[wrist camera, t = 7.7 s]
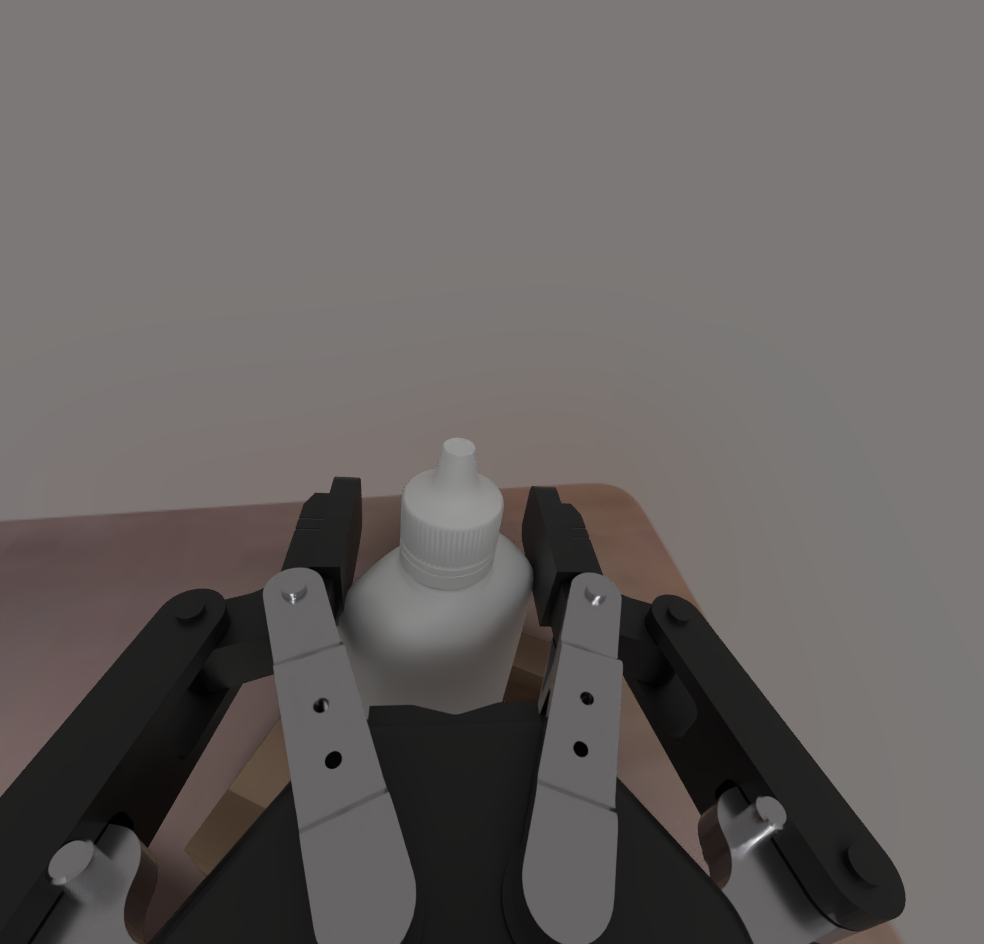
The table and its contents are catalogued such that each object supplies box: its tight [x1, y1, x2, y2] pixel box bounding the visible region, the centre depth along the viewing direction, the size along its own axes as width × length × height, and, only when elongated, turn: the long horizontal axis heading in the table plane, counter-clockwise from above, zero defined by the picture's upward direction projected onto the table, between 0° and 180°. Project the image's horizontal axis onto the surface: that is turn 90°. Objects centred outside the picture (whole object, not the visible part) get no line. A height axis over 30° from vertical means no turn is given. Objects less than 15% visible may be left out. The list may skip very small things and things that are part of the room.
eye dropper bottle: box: [337, 438, 534, 719], centre depth 14 cm, size 4×6×12 cm
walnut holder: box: [184, 633, 550, 877], centre depth 19 cm, size 12×12×3 cm
